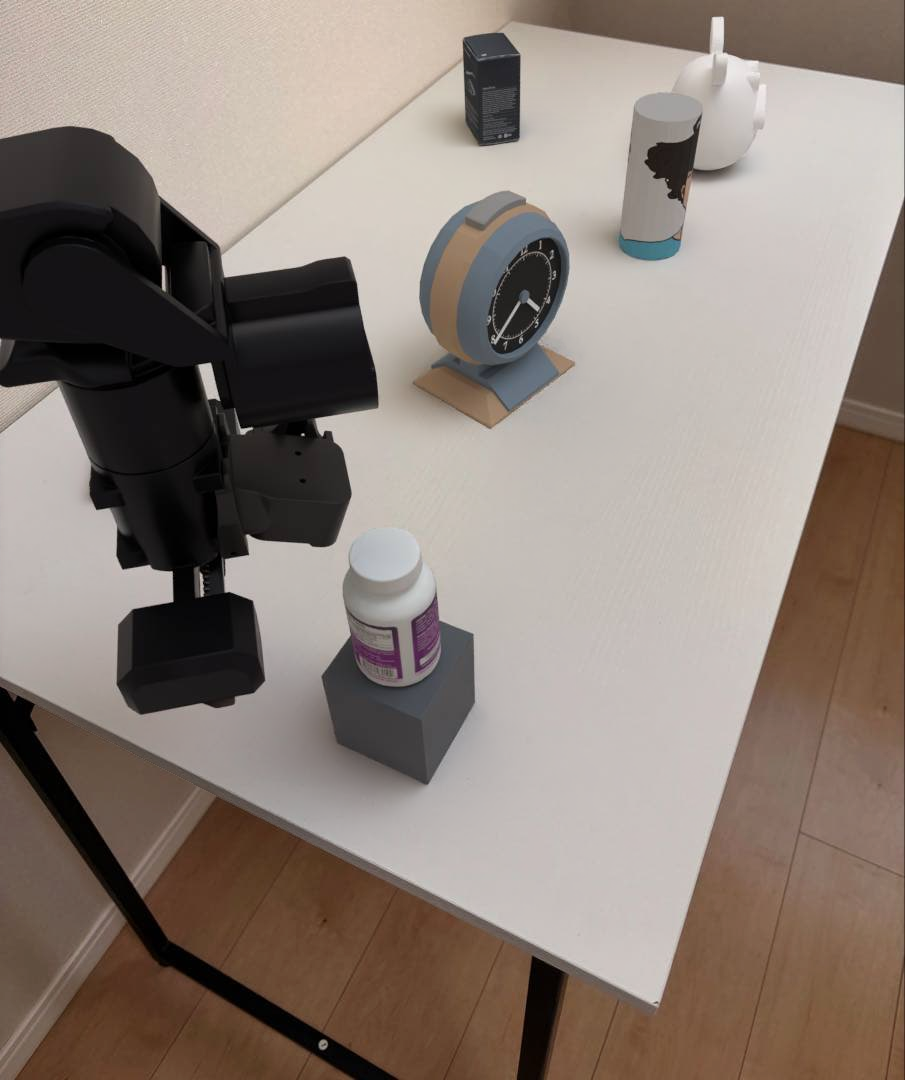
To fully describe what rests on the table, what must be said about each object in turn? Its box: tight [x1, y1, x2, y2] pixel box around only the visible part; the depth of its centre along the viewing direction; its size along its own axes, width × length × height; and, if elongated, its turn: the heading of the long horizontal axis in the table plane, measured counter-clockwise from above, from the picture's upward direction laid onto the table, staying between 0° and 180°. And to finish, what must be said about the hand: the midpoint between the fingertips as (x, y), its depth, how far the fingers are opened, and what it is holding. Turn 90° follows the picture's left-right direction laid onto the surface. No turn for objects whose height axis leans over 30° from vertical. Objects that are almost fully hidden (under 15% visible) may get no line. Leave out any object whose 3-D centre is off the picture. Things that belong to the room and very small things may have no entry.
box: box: [462, 32, 522, 146], centre depth 120 cm, size 8×6×11 cm
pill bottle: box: [342, 526, 441, 687], centre depth 55 cm, size 5×5×10 cm
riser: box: [321, 619, 476, 785], centre depth 61 cm, size 7×7×8 cm
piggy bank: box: [670, 16, 768, 171], centre depth 110 cm, size 12×12×15 cm
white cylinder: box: [618, 91, 703, 261], centre depth 99 cm, size 7×7×15 cm
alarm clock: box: [412, 190, 576, 429], centre depth 83 cm, size 14×10×18 cm
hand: (220, 637), depth 54 cm, fingers open, 9 cm apart
